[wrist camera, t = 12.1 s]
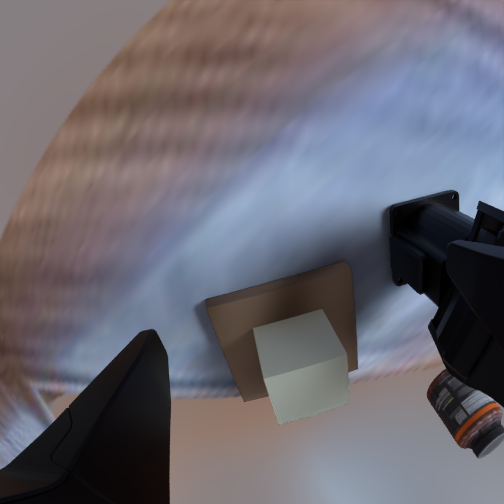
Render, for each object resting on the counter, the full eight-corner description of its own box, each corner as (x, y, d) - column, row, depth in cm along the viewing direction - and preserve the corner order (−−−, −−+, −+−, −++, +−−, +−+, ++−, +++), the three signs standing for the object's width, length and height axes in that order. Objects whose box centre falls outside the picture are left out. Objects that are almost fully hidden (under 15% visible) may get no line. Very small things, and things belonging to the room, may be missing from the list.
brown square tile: (344, 260, 22) (351, 268, 21) (352, 360, 26) (357, 368, 25) (206, 299, 22) (206, 308, 21) (242, 391, 26) (244, 401, 25)
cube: (322, 308, 22) (347, 354, 17) (328, 358, 24) (349, 403, 19) (252, 328, 22) (263, 378, 17) (267, 375, 24) (278, 424, 19)
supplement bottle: (455, 389, 32) (498, 450, 21) (418, 404, 31) (460, 473, 21) (470, 355, 29) (523, 418, 19) (433, 369, 29) (485, 442, 19)
